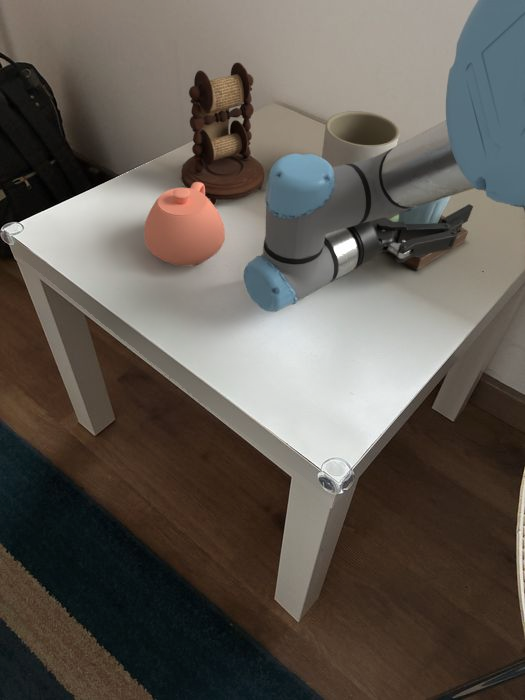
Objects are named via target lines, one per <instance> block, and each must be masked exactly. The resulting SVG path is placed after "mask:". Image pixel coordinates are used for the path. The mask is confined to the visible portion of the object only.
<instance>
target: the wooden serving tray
mask: <svg viewBox="0 0 525 700" xmlns="http://www.w3.org/2000/svg"><path fill="white" fill-rule="evenodd" d="M445 217H446V216H444V215H443V214H442V215H441V217H440V219H439V221H438V223H441V222H442V220H443V218H445ZM385 218H387V219H389V220H391V221H393V222H398V219H399V214H394V215H391V216H387V217H385ZM457 233H458V236H457V238H456V241H455V243H454V246H453V248H452V249H448V250H444V251H439V252H434V253H430V254H425V255H420V256H416V257H411V258H409V259H407V260H406V261H404V262H403V263H404V264H406V265H407V266H409V267H410V268H412V269H413V270H414V271H416V272H418V271H419V270H421V269H423V268H424V267H426V266H428V265H429V264H431V263H432V262H434V261H436V260H438V259H439V258H441V257H442V256H444V255H446V254H447V253H450V252H452V250H454V249H456V248H457V247H459V246H460V245H462V244H464V243H465V241H466V238H467V235H468V233H469V230H467V229H465V228H464V227H463V226H461V229H460V230H459V231H457ZM396 235H397V230H396V232H395V237H396ZM387 252H388V253H390V254H391V255H392V256H394V257H396V256H397V255H395V254H394V253H392V252H391V251H387Z"/></svg>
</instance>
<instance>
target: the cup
mask: <svg viewBox="0 0 525 700" xmlns="http://www.w3.org/2000/svg"><path fill="white" fill-rule="evenodd" d="M451 197H452V196H448V197H445V198H442V199H439V200H436V201H433V202H430V203H427V204H423V205H421V206H419V207H416V208H415V209H413V210H411V211H407V212H403V213H400V214H399V219H398V222H404V223H405V224H431V223H438V221H439V219H440V217H441V215H442V216H443V212H444V211H445V208H446V206H447V204H448V202H449V200H450V199H451ZM397 231H398V230H397Z"/></svg>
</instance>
